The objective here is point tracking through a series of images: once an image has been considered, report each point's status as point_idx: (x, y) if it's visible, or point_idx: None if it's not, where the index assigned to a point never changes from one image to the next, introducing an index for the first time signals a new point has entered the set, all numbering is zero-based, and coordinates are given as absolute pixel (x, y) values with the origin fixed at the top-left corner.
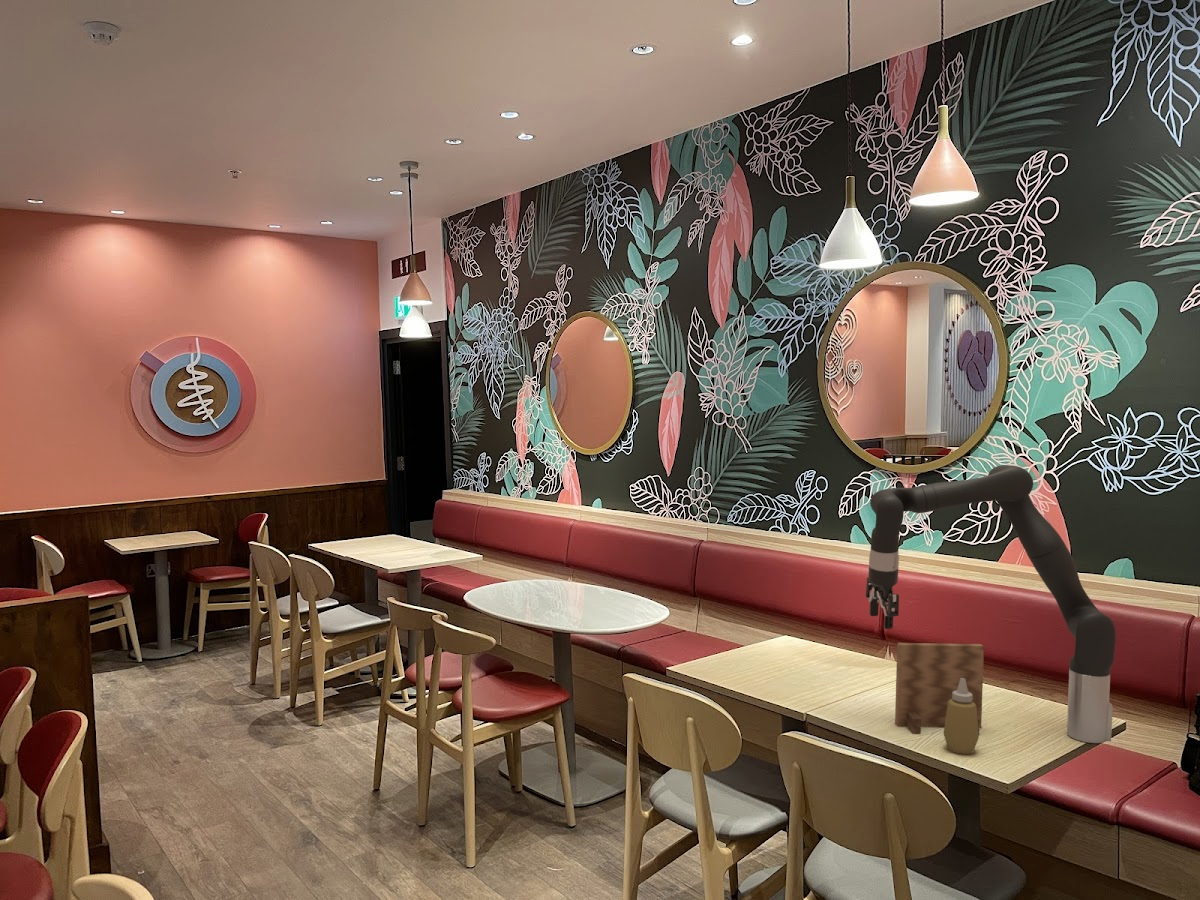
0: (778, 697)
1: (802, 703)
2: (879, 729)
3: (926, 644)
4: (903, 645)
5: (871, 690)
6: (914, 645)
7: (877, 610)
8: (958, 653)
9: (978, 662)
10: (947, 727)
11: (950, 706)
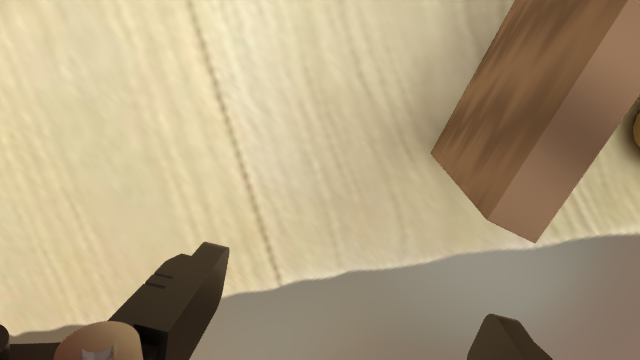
0: None
1: (233, 256)
2: (441, 214)
3: (635, 50)
4: (548, 219)
5: (207, 35)
6: (596, 153)
7: (209, 278)
8: None
9: None
10: None
11: None
